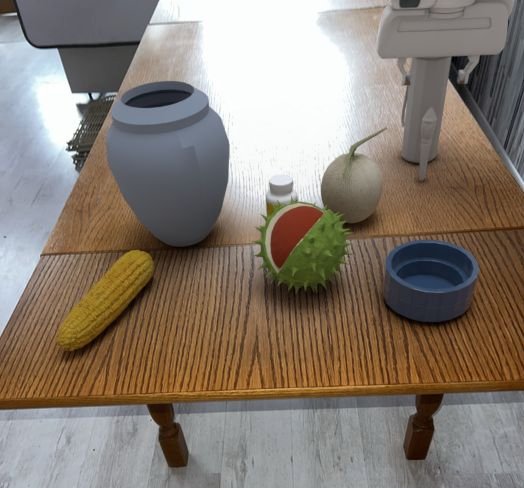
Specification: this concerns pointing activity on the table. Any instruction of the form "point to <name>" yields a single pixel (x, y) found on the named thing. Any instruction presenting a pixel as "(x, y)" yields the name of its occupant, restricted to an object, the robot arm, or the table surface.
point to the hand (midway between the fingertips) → (433, 83)
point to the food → (106, 300)
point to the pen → (426, 140)
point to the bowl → (429, 280)
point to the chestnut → (302, 244)
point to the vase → (169, 159)
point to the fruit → (352, 185)
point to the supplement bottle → (280, 192)
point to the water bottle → (424, 103)
